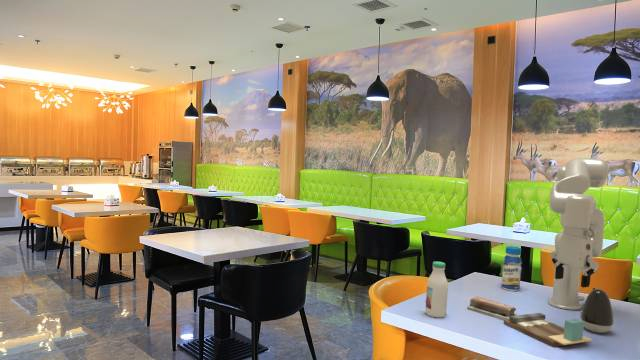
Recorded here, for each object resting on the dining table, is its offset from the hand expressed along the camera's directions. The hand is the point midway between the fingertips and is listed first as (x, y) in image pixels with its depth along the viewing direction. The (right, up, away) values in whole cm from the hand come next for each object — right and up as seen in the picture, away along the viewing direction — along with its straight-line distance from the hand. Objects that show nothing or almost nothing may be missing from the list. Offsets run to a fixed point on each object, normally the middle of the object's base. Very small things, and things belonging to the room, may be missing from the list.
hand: (571, 282), depth 154 cm
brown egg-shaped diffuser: (+15, -20, +12) cm, 28 cm away
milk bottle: (-41, -17, +20) cm, 48 cm away
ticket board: (-6, -19, +7) cm, 21 cm away
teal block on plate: (-2, -18, -3) cm, 18 cm away
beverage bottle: (+6, -17, +63) cm, 66 cm away
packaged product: (-17, -18, +26) cm, 36 cm away
